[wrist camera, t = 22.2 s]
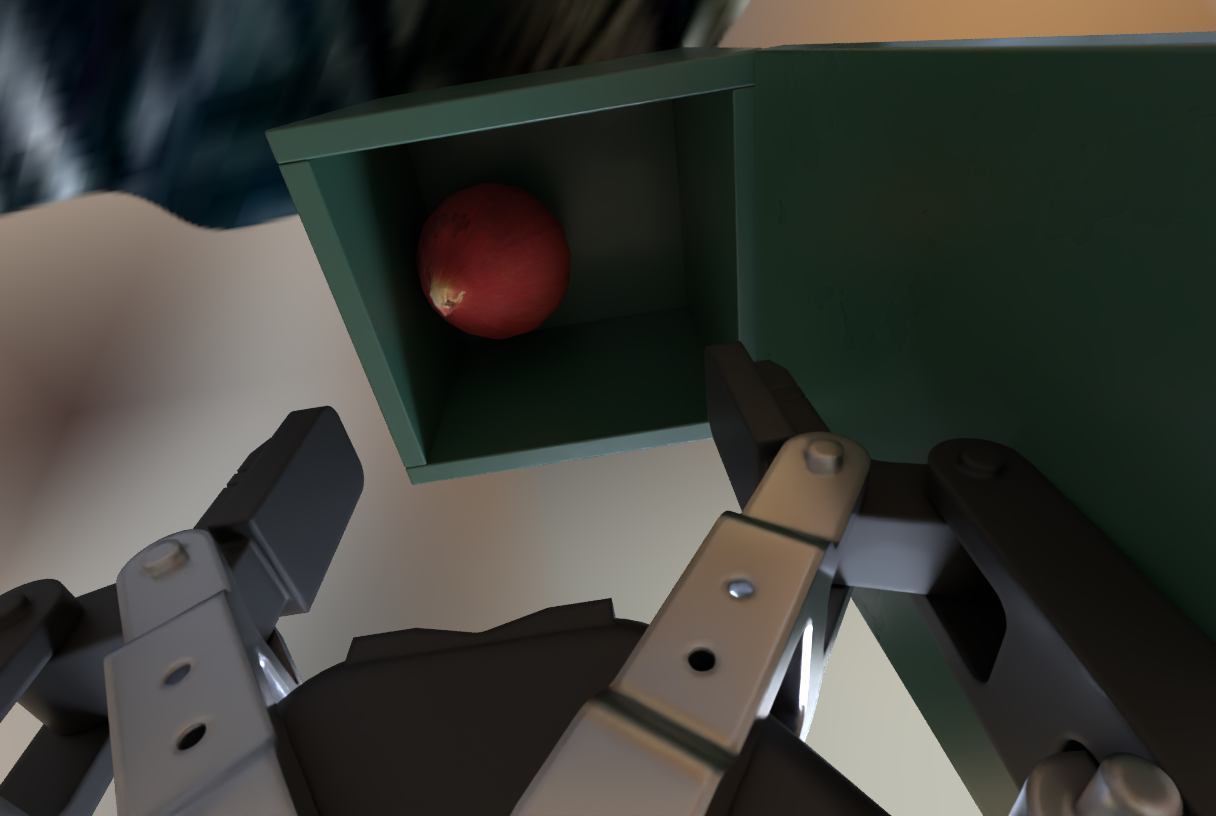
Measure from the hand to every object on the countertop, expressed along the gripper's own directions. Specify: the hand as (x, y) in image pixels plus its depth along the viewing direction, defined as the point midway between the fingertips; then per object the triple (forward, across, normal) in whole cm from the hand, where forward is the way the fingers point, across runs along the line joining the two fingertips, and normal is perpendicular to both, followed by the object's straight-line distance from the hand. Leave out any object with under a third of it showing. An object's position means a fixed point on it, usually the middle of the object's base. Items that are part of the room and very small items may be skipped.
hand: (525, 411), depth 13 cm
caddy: (+16, -1, 0) cm, 17 cm away
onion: (+15, 0, +1) cm, 15 cm away
